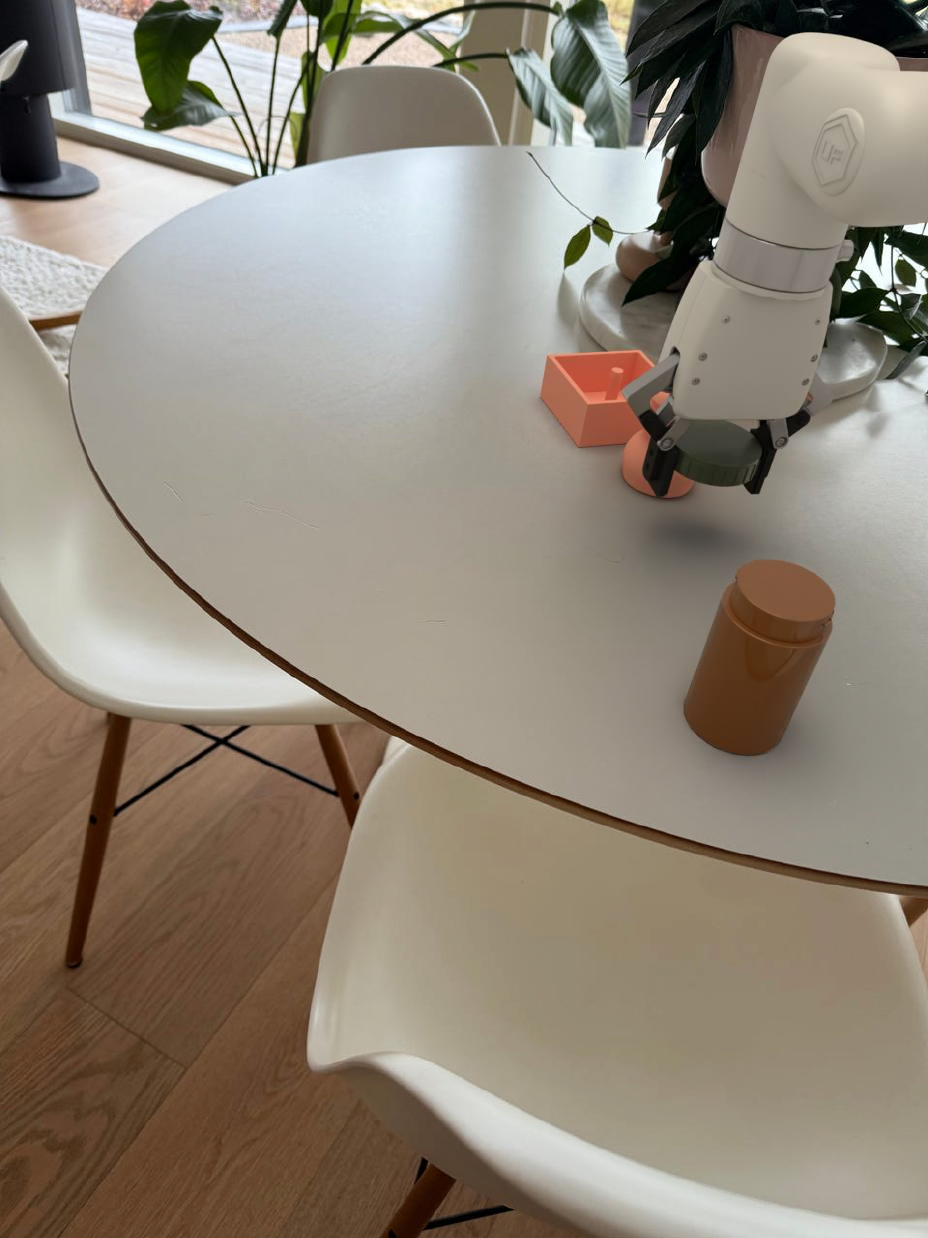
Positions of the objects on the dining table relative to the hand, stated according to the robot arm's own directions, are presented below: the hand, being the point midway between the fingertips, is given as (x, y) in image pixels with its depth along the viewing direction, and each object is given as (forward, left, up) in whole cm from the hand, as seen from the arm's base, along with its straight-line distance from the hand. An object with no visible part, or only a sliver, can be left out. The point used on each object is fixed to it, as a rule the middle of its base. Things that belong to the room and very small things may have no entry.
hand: (701, 483), depth 77 cm
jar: (-9, +18, -4) cm, 21 cm away
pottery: (+9, -10, -5) cm, 14 cm away
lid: (0, 0, +4) cm, 4 cm away
